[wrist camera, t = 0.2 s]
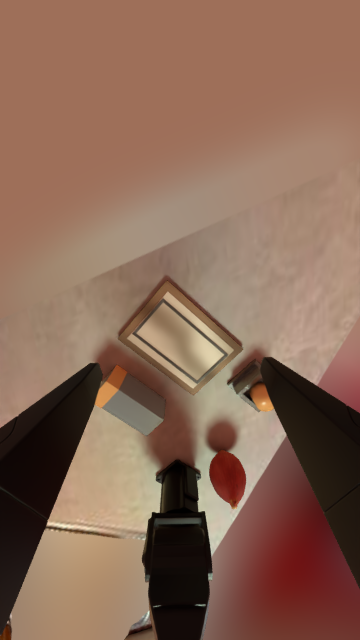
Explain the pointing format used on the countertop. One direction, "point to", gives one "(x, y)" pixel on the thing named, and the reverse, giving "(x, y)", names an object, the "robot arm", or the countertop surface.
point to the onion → (228, 477)
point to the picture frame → (179, 339)
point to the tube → (142, 635)
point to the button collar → (247, 382)
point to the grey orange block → (131, 401)
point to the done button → (261, 397)
